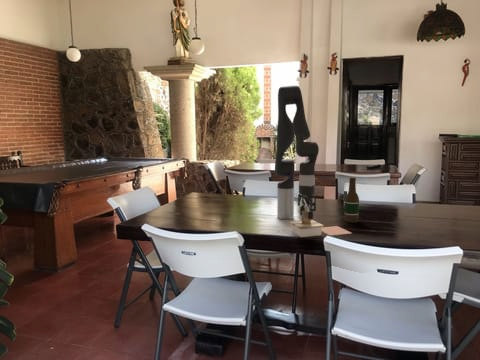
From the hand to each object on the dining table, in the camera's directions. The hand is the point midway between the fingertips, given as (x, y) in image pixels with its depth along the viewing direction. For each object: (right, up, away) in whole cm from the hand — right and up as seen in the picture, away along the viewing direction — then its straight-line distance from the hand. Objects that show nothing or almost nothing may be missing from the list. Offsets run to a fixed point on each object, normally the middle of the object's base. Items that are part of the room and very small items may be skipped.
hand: (306, 217), depth 184 cm
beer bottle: (+29, -5, +24) cm, 38 cm away
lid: (0, -4, +1) cm, 4 cm away
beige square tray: (0, -8, +1) cm, 8 cm away
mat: (+14, -7, +5) cm, 17 cm away
